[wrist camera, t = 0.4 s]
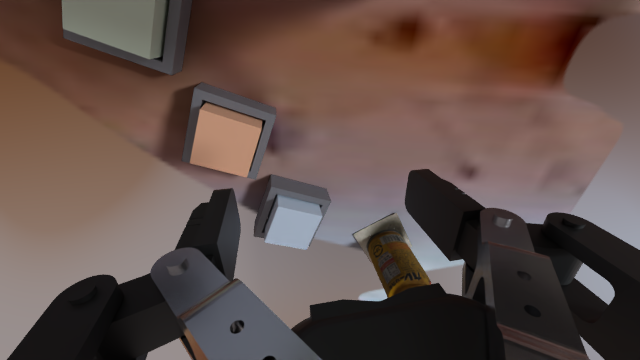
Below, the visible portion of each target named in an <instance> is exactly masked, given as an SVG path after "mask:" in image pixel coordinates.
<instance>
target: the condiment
mask: <svg viewBox="0 0 640 360" xmlns="http://www.w3.org/2000/svg"><path fill="white" fill-rule="evenodd" d="M394 228H395V229H394ZM353 235H354V237H355V238H356V240H357V242H358V243H359V245H360V246H361V248H362V249H363V251H364V252H365V254H366V255H367V257H368V259H369V260H370V262H371V263H372V265H374V268H375V270H376V272H377V274H378V276H379V279H380V281H381V283H382V285H383V288H384V289H385V292H386V294H387V297H388V298H389V297H391V296H393V295H396V294H398V293H400V292H402V291H404V290H406V289H408V288H413V287H419V286H424V285H430V284H431V281H430V280H429V278H428V276H427V275H426V273H425V271H424V270H423V268H422V267H421V265H420V263H419V262H418V260H417V259H416V257H415V256H414V254H413V252H412V251H411V249H410V247H412V245H411V243H410V241H409V239H408V237H407V234H406V232H405V230H404V228H403V226H402V223H401V221H400V219H399V217H398V215H397V213H395V214H393V215H390V216H388V217H386V218H384V219H382V220H380V221H378V222H376V223H374V224H372V225H370V226H368V227H366V228H365V229H362V230H360V231H359V232H357V233H355V234H353ZM370 235H371V236H370ZM369 237H370V238H369Z"/></svg>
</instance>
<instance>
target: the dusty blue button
mask: <svg viewBox="0 0 640 360" xmlns="http://www.w3.org/2000/svg"><path fill="white" fill-rule="evenodd" d="M321 219H322V213H321V209H320V206H319V204H316V203H312V202H307V201H303V200H299V199H295V198H291V197H286V196H282V195H278V194H277V195H276V197H275V200H274V203H273V205H272V208H271V211H270V214H269V216H268V219H267V222H266V224H265V240H264V241H265V242H266V243H271V244H277V245H283V246H289V247H294V248H300V249H305V250H307V248H308V246H309V243H310V241H311V239H312V237H313V235H314V233H315V231H316V229H317V227H318V225H319V223H320V221H321Z"/></svg>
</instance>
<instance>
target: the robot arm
mask: <svg viewBox="0 0 640 360" xmlns="http://www.w3.org/2000/svg"><path fill="white" fill-rule="evenodd" d="M405 206H406V209H407V211H408V213H409V214H410V215H411V216H412V217H413V219H414V220H415V221H416V222H417V223H418V224H419V226H420V227H421V228H422V229H423V230H424V231H425V233H426V234H427V235H428V236H429V237H430V238H431V240H432V241H433V242H434V243H435V244H436V246H437V247H438V248H439V249H440V250H441V251H442V253H443V254H444V255H445V256H446V257H447V258H448V260H449V261H454V260H460V259H463V260H464V261H465V262H464V265H463V274H462V277H463V278H462V296H459V295H454V294H446V292H445V291H444V289H443V288H442V287H441V286H440V284H439V283H436V284H430V285H424V286H419V287H413V288H408V289H406V290H404V291H402V292H400V293H398V294H396V295H393V296H391V297H389V298H387V299H385V300H383V301H360V300H338V301H332V302H326V303H320V304H315V305H310V318H307V319H305V320H303V321H302V322H300V323H298V324H297V325H296V326H295V327H293V328H292V329H290V328H289V327H288V326H287V325H286V324H285V323H284V322H283V321H282V320H281V319H280V318H279V317H277V315H275V314H274V313H273V312H272V311H271V310H270V309H269V308H268V307H267V306H266V305H265V304H264V303H263V302H262V301H261V300H260V299H259V298H258V297H257V296H256V295H255V294H254V293H253V292H252V291H251V290H250V289H249V288H248V287H247V286H246V285H245V284H243V282H242V281H240V280H239V279H234V280H233V278H234V271H235V264H236V257H237V251H238V245H239V238H240V218H239V213H238V208H237V203H236V198H235V193H234V190H233V188H230V189H220V190H214V191H213V193H212V196H211V199H210V201H209V202H207V203H201V204H200V205H199V206H198V207H197V208H195V209H194V210H193V212H192V214H191V216H190V218H189V221H188V222H187V225H186V227H185V229H184V231H183V234H182V235H181V237H180V240H179V242H178V244H177V246H176V248H175V250H174V251H171V252H169V253H167V254H165V255H164V256H162V257H161V258H160V259H158V260H157V261H156V263H155V264H154V265H153V267H152V269H151V273H149V274H147V275H145V276H142V277H139V278H136V279H133V280H130V281H128V282H125V283H122V284H119V285H118V283H117V281H116V279H115V278H114V277H113V276H110V275H97V276H92V277H89V278H86V279H84V280H81V281H79V282H77V283H75V284H74V285H72V286H70V287H69V288H67V289H66V290H64V291H63V292H62V293H60V294H59V295H58V296H57V297H56V298H55V299H54V300H53V302H52V303H51V304H50V305H49V307H48V308H47V309H46V310H45V312H44V313H43V314H42V316H41V317H40V318H39V319H38V321H37V322H36V323H35V325H34V326H33V327H32V328H31V330H30V331H29V332H28V333H27V335H26V336H25V337H24V339H23V340H22V341H21V343H20V344H19V345H18V346H17V348H16V349H15V350H14V351H13V353H12V354H11V355H10V356H9V358H8V359H7V360H146V357H147V354H148V352H150V351H152V350H154V349H156V348H158V347H160V346H163V345H165V344H167V343H169V342H171V341H173V340H175V339H178V338H179V339H180V341H181V342H182V344H183V346H184V347H185V349H186V351H187V352H188V354H189V356H190V357H191V359H192V360H590V359H589V358H588V356H587V354H586V351H585V349H584V346H583V344H582V341H581V338H580V336H581V337H582V338H583V339H584V340H585V341H586V342H587V343H588V344H589V345H590V346H591V347H592V348H593V349H594V350H595V351H596V352H597V353H599V354H600V355H601V356H602V357H603V358H604V359H605V360H640V250H638V249H637V248H635V247H633V246H631V245H629V244H628V243H626V242H624V241H623V240H621V239H619V238H617V237H616V236H614V235H612V234H610V233H609V232H607V231H605V230H603V229H601V228H600V227H598V226H596V225H594V224H593V223H591V222H589V221H587V220H585V219H583V218H580V217H577V216H574V215H571V214H566V213H558V212H556V213H550V214H548V215H547V217H546V219H545V221H544V224H531V223H525V221H524V220H523V219H522V218H521V217H519V216H518V215H516V214H514V213H512V212H509V211H507V210H503V209H498V208H485V207H483V206H482V205H480V204H479V203H478V202H476V201H475V200H474V199H472V198H471V197H470V196H468V195H467V194H465V193H464V192H463V191H461V190H460V189H458V188H457V187H456V186H455V185H453V184H452V183H450V182H448V181H446V180H443V179H441V178H440V177H438V176H437V175H436V174H434V173H433V172H432V171H430V170H429V169H421V170H412V171H411V172H410V173H409V176H408V183H407V189H406V196H405ZM583 263H584V264H586V265H587V266H589V267H590V268H591V269H592V270H594V271H595V272H597V273H598V274H599V275H601V276H602V277H604V278H605V279H606V280H607V281H609V282H610V284H611V285H612V286H613V288H614V291H615V297H614V299H613V300H612V301H611V303H610V304H609V305H608V304H606V303H605V302H604V301H602V300H601V299H600V298H599V297H598V296H596V295H595V294H594V293H593V292H591V291H590V290H589V289H588V288H586V287H585V286H584V285H583V284H581V283H580V282H579V281H578V280H576V279H575V278H574V277H575V275H576V274H577V271H578V270H579V269H580V267H581V265H582V264H583ZM579 335H580V336H579Z"/></svg>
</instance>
